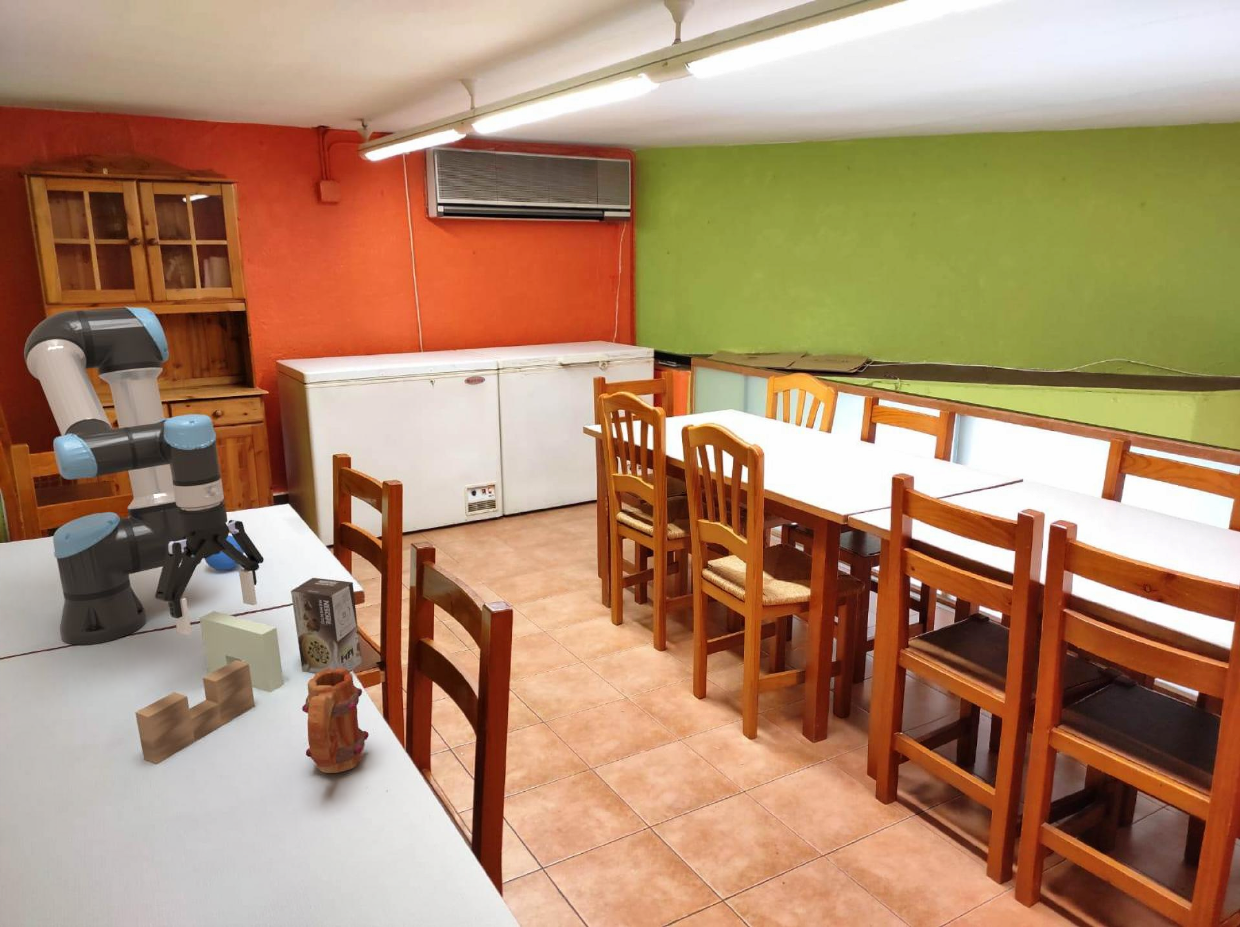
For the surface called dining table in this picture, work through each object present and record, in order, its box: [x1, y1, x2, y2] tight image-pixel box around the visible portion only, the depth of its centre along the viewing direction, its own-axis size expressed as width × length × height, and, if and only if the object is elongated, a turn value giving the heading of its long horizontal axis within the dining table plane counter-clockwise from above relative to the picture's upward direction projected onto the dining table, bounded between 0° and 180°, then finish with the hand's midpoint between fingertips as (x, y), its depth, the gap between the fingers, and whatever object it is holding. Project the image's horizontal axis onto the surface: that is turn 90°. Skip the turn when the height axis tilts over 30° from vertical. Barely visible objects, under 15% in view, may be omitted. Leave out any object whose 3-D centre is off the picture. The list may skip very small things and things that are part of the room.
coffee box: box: [290, 577, 362, 674], centre depth 154 cm, size 9×6×16 cm
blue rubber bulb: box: [204, 534, 245, 572], centre depth 204 cm, size 12×12×8 cm
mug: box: [301, 668, 370, 774], centre depth 122 cm, size 15×8×15 cm, turn 5°
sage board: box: [199, 611, 285, 693], centre depth 151 cm, size 16×3×11 cm, turn 63°
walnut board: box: [135, 660, 256, 765], centre depth 135 cm, size 18×3×8 cm, turn 153°
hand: (218, 617), depth 151 cm, fingers open, 13 cm apart
